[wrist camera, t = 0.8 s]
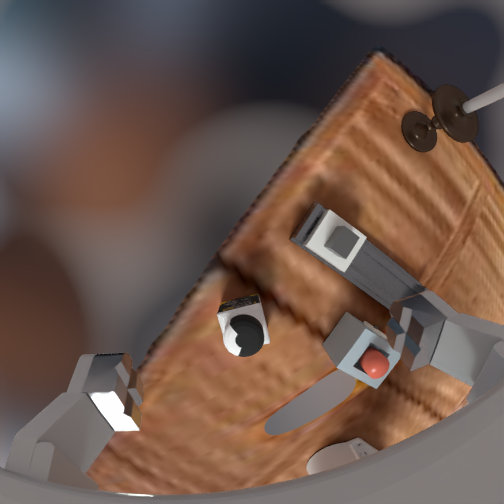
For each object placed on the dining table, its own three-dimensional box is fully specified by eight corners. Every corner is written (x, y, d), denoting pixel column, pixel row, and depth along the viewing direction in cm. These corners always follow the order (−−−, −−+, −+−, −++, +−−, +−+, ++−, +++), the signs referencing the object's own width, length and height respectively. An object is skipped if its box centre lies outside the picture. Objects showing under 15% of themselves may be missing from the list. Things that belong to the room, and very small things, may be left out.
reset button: (383, 352, 46) (393, 362, 41) (369, 370, 46) (379, 382, 41) (367, 342, 45) (378, 353, 41) (353, 361, 46) (362, 373, 41)
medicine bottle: (258, 292, 53) (262, 311, 41) (267, 328, 53) (273, 355, 42) (220, 302, 53) (213, 323, 41) (230, 337, 54) (226, 366, 42)
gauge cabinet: (384, 330, 54) (407, 348, 44) (358, 365, 55) (376, 388, 45) (349, 307, 53) (369, 323, 43) (322, 344, 54) (336, 367, 44)
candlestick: (444, 135, 51) (561, 89, 16) (424, 166, 51) (557, 130, 16) (411, 99, 50) (517, 26, 15) (388, 129, 51) (509, 55, 16)
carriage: (360, 236, 50) (376, 238, 43) (339, 269, 50) (352, 276, 43) (324, 210, 49) (337, 208, 42) (302, 244, 50) (311, 247, 43)
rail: (418, 283, 53) (430, 287, 49) (398, 316, 54) (408, 322, 49) (313, 202, 52) (319, 200, 47) (289, 239, 52) (293, 240, 48)
